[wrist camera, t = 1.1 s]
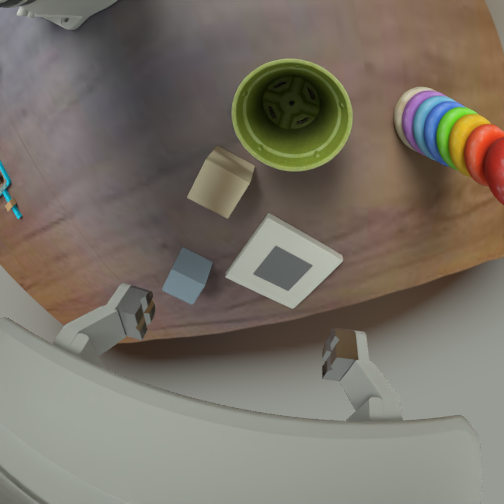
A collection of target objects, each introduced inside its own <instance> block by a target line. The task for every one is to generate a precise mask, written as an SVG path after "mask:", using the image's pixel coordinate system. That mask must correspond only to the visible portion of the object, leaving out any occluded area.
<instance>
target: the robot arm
mask: <svg viewBox="0 0 504 504" xmlns="http://www.w3.org/2000/svg"><path fill="white" fill-rule="evenodd" d="M116 1H118V0H0V7H3V8H12V7H17V6H20V8H19V10H18V12H17V15H18V16H27V17H32V18H34V17H43V18H45V19H47V20H49V21H51V22H53V23H55V24H57V25H59V26H61V27H63V28H65V29H67V30H75V29H77V28H78V27H79V26H80V25H81V24H82V23H83V22H85V21H86V20H87V19H88V18H89V17H90V16H91V15H93V14H95V13H97V12H99V11H101V10H103V9H105V8H107V7H109V6H110V5H112V4H114V3H115V2H116ZM68 18H69V20H68ZM152 298H153V292H152V291H149V290H146V289H143V288H139V287H136V286H133V285H129V284H126V283H122V284H121V285H120V286H119V287H118V289H117V290H116V292H115V293H114V294H113V296H112V297H111V299H110V300H109V302H108V303H107V305H106V306H101V307H99V308H97V309H95V310H93V311H91V312H89V313H87V314H85V315H83V316H81V317H79V318H77V319H75V320H74V321H72V322H70V323H68V324H66V325H65V326H64V327H63V329H62V330H61V332H60V333H59V334H58V336H57V337H56V339H55V341H54V342H53V344H52V343H50V342H48V341H46V340H44V339H43V338H41V337H39V336H37V335H35V334H34V333H32V332H30V331H28V330H27V329H25V328H24V327H22V326H20V325H19V324H17V323H15V322H14V321H12V320H11V319H9V318H6V317H4V318H0V504H480V502H481V490H482V456H481V444H480V439H479V435H478V433H477V432H476V430H475V429H474V428H473V426H472V425H471V424H470V423H469V421H468V420H467V419H466V418H465V417H464V416H462V415H454V416H447V417H440V418H430V419H419V420H405V421H403V420H402V410H401V402H400V397H399V395H398V394H397V393H396V391H395V390H394V389H393V388H392V386H391V385H390V384H389V382H388V381H387V380H386V378H385V377H384V376H383V375H382V373H381V372H380V371H379V369H378V368H377V367H376V366H375V364H374V363H373V362H370V360H369V353H368V345H367V339H366V334H365V332H361V331H353V330H346V329H339V328H333V329H332V330H331V332H330V337H329V338H328V339H326V341H325V344H324V347H323V353H322V354H323V355H322V358H323V360H324V361H325V363H324V365H323V366H322V378H323V379H327V380H335V381H340V384H341V386H342V387H343V389H344V391H345V393H346V395H347V396H348V398H349V400H350V401H351V403H352V405H353V407H354V409H355V411H356V412H355V413H354V414H352V415H351V416H350V417H349V418H348V419H347V420H346V421H334V420H319V419H307V418H298V417H290V416H282V415H275V414H267V413H261V412H256V411H249V410H244V409H239V408H234V407H229V406H225V405H220V404H216V403H211V402H207V401H203V400H199V399H195V398H192V397H187V396H184V395H181V394H177V393H174V392H170V391H167V390H164V389H161V388H157V387H154V386H151V385H148V384H145V383H143V382H139V381H137V380H134V379H131V378H128V377H126V376H123V375H120V374H118V373H115V372H113V371H110V370H108V369H105V368H103V367H104V366H103V363H102V361H101V360H100V358H99V356H100V355H101V354H102V353H104V352H105V351H107V350H108V349H110V348H111V347H112V346H114V345H115V344H117V343H118V342H119V341H121V340H122V339H124V338H125V337H126V336H129V337H132V338H135V339H139V340H142V339H143V337H144V335H145V334H146V332H147V326H146V325H148V324H149V323H151V322H152V320H153V318H154V314H155V303H154V302H153V301H152Z"/></svg>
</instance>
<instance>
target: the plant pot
mask: <svg viewBox="0 0 504 504" xmlns="http://www.w3.org/2000/svg"><path fill="white" fill-rule="evenodd" d="M282 81H286V84H283V85H281V86H279V87H277V88H275V85H277V84H279V83H280V82H282ZM307 88H309V89H310V90H311V91H312V92H313V94H314V96H315V98H314V99H312V98H311V95H310V93H309V91H308V90H307ZM290 101H294V104H293V105H290V104H289V102H290ZM269 107H271V108H272V110H273V112H274V113H275V114H276V116H277V117H276V118H275V117H273V116H272V115H271V113H270V111H269ZM307 117H308V120H307V121H305V122H304V123H302V124H297V122H298V121H301V120H303V119H305V118H307ZM352 122H353V113H352V106H351V102H350V99H349V97H348V94H347V92H346V91H345V89H344V87H343V86H342V84H341V83H340V82H339V81H338V80H337V78H335V77H334V76H333V75H332V74H331V73H330V72H328V71H327V70H326V69H324V68H322V67H321V66H319V65H317V64H314V63H311V62H308V61H305V60H300V59H280V60H275V61H271V62H269V63H266V64H264V65H262V66H260V67H258V68H256V69H255V70H253V71H252V72H251V73H250V74H249V75H248V76H247V77H246V78H245V79H244V80H243V81H242V82H241V84H240V85H239V87H238V89H237V91H236V93H235V96H234V99H233V103H232V123H233V127H234V130H235V133H236V135H237V137H238V139H239V140H240V142H241V143H242V145H243V146H244V148H245V149H246V150H247V151H248V152H249V153H250V154H251V155H252V156H253V157H255V158H256V159H258V160H259V161H261V162H262V163H264V164H266V165H268V166H271V167H273V168H276V169H279V170H284V171H306V170H310V169H314V168H316V167H319V166H321V165H323V164H325V163H327V162H328V161H330V160H331V159H333V158H334V157H335V156H336V155H337V154H338V153H339V152H340V151H341V149H342V148H343V147H344V145H345V143H346V142H347V140H348V137H349V135H350V132H351V128H352Z"/></svg>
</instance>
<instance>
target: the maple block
mask: <svg viewBox="0 0 504 504" xmlns="http://www.w3.org/2000/svg"><path fill="white" fill-rule="evenodd" d="M254 168H255V166H254V165H252V164H251V163H249V162H247V161H245V160H243V159H241V158H240V157H238V156H236V155H234V154H232V153H230V152H228V151H227V150H225V149H223V148H221V147H219V146H216V147H215V148H214V150H213V151H212V152H211V153H210V155H209V156H208V157H207V159H206V160H205V162H204V164H203V166H202V168H201V170H200V172H199V174H198V176H197V178H196V180H195V182H194V184H193V186H192V188H191V190H190V192H189V194H188V196H187V198H188V199H190V200H192V201H194V202H196V203H198V204H200V205H202V206H204V207H206V208H208V209H210V210H212V211H214V212H215V213H217V214H219V215H221V216H223V217H225V218H227V219H228V218H229V216H230V214H231V213H232V211H233V210H234V208H235V206H236V205H237V203H238V202H239V200H240V198H241V197H242V195H243V194H244V192H245V190H246V189H247V187H248V186H249V184H250V182H251V178H252V175H253V171H254Z"/></svg>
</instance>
